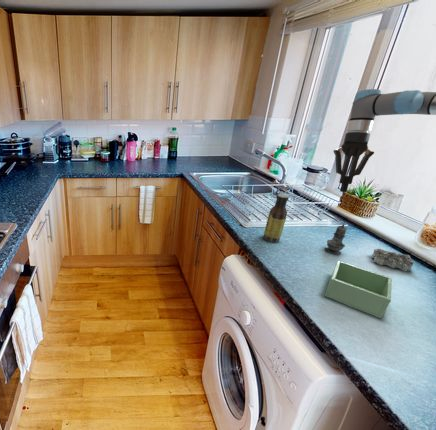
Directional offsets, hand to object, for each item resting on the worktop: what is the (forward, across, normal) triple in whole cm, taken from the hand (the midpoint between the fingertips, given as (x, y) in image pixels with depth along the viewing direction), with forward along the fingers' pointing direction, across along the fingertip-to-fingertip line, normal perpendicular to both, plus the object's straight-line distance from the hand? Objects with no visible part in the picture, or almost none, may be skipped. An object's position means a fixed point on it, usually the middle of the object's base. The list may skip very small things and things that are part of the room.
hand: (343, 191), depth 118 cm
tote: (+29, +3, +39) cm, 49 cm away
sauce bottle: (+22, +24, +11) cm, 35 cm away
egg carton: (+24, -16, +13) cm, 31 cm away
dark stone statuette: (+23, +2, +11) cm, 26 cm away
